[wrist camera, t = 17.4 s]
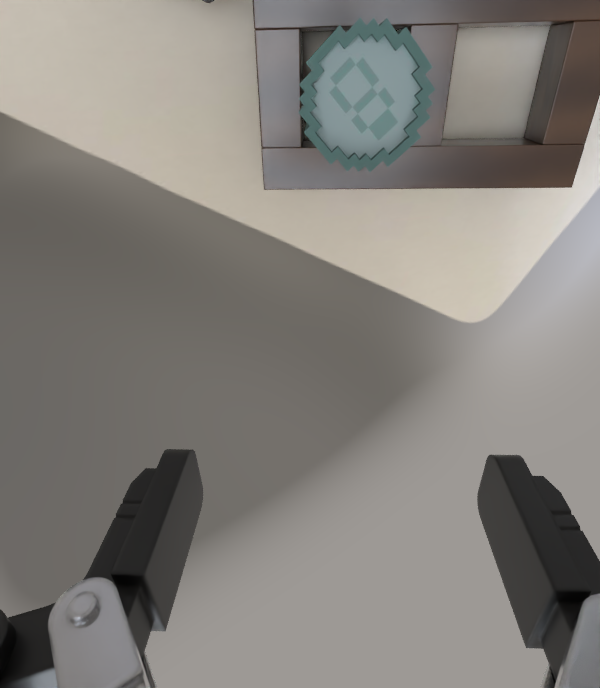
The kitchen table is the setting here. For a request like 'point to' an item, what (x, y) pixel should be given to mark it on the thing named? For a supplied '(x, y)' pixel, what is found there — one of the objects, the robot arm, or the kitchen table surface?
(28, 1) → the kitchen table surface
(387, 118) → the can
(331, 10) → the stand
